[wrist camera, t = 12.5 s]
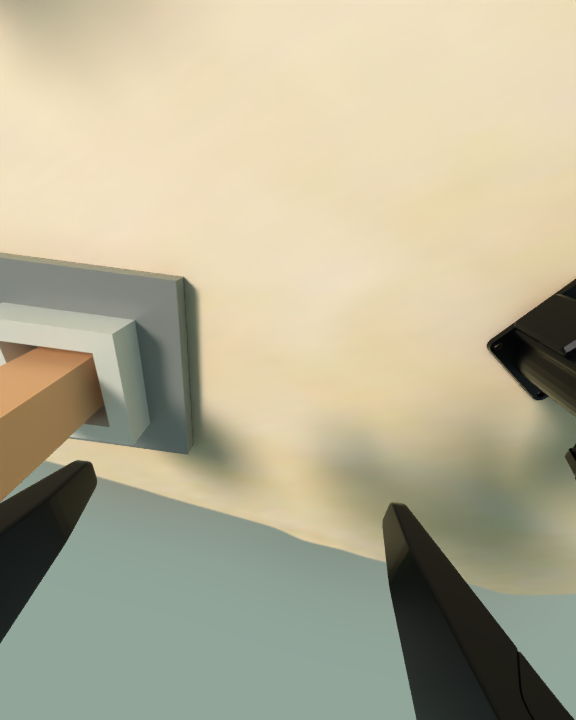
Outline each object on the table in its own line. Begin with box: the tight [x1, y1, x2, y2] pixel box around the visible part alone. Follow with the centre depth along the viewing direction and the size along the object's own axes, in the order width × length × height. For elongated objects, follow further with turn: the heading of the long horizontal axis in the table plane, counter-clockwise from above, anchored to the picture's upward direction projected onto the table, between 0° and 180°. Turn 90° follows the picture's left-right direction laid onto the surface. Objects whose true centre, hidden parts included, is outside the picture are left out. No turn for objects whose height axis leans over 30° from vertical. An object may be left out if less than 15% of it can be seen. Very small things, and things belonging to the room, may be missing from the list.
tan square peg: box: [0, 346, 104, 502], centre depth 16 cm, size 4×4×13 cm
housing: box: [0, 253, 193, 454], centre depth 21 cm, size 15×15×4 cm
